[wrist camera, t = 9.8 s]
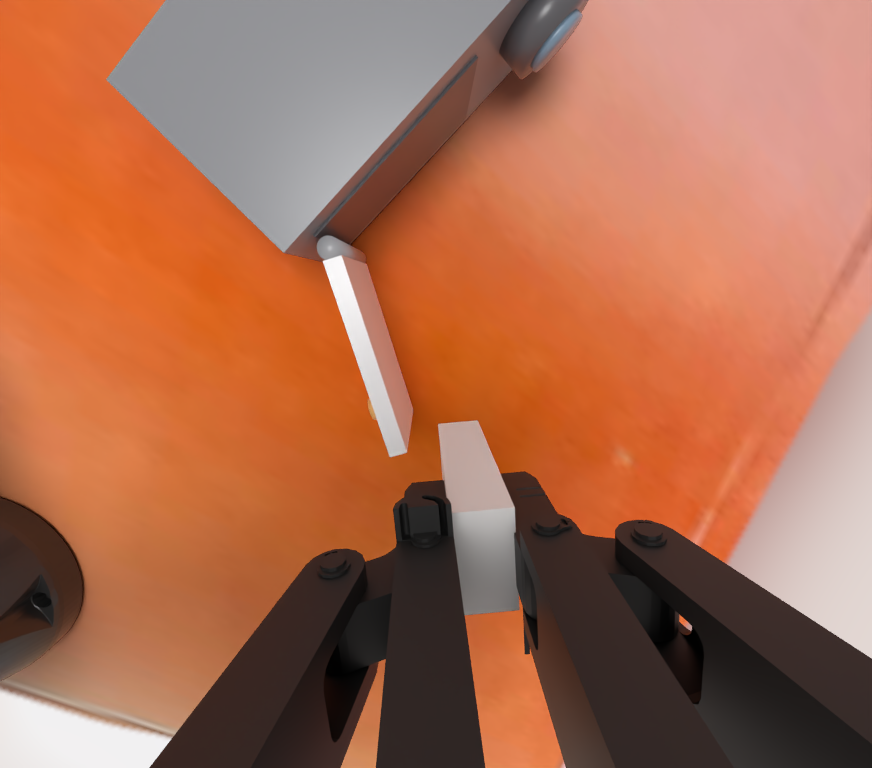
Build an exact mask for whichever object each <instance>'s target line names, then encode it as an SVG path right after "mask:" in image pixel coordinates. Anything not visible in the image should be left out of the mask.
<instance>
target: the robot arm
mask: <svg viewBox="0 0 872 768" xmlns="http://www.w3.org/2000/svg"><path fill="white" fill-rule="evenodd" d="M438 429H439V441H440V453H441V465H442V477H443V480H439V481H428V482H416V483H412V484H411V485H410V486H409V487H408V488H407V489H406V491H405V497H404V498H402V499H401V500H400V501H398V502H397V503H396V504H395V506H394V508H393V513H394V522H395V531H396V539H397V544H396V548H394V549H393V550H392V551H391V552H389V553H387V554H386V555H384V556H382V557H379V558H376V559H373V560H370V561H367V562H365V560H364V558H363V555H362V554H360V553H359V552H357V551H355V550H350V549H335V550H331V551H327V552H324V553H322V554H320V555H319V556H317V557H315V558H313V559H312V560H311V561H310V562H309V563H308V564H307V565H306V566H305V567H304V568H303V570H302V571H301V572H300V573H299V575H298V576H297V577H296V579H295V580H294V581H293V583H292V584H291V585H290V586H289V588H288V589H287V590H286V592H285V593H284V594H283V596H282V597H281V598H280V599H279V601H278V602H277V603H276V605H275V606H274V607H273V608H272V610H271V611H270V612H269V614H268V615H267V616H266V618H265V619H264V620H263V621H262V623H261V624H260V625H259V627H258V628H257V629H256V630H255V632H254V633H253V634H252V636H251V637H250V638H249V640H248V641H247V642H246V643H245V645H244V646H243V647H242V649H241V650H240V651H239V653H238V654H237V655H236V656H235V658H234V659H233V660H232V662H231V663H230V664H229V665H228V667H227V668H226V669H225V671H224V672H223V673H222V675H221V676H220V677H219V678H218V680H217V681H216V682H215V684H214V685H213V686H212V687H211V689H210V690H209V691H208V693H207V694H206V695H205V697H204V698H203V699H202V700H201V702H200V703H199V704H198V706H197V707H196V708H195V709H194V711H193V712H192V713H191V715H190V716H189V717H188V719H187V720H186V721H185V722H184V724H183V725H182V726H181V728H180V729H179V730H178V732H177V733H176V734H175V735H174V737H173V738H172V739H171V741H170V742H169V743H168V744H167V746H166V747H165V748H164V750H163V751H162V752H161V754H160V755H159V756H158V758H157V759H156V760H155V761H154V763H153V764H152V765H151V766H150V768H340V767H341V765H342V762H343V760H344V757H345V754H346V752H347V749H348V746H349V744H350V741H351V739H352V736H353V733H354V731H355V728H356V726H357V723H358V720H359V718H360V715H361V712H362V710H363V707H364V705H365V702H366V699H367V697H368V694H369V691H370V689H371V686H372V684H373V681H374V678H375V676H376V673H377V668H378V662H379V661H381V660H384V659H386V664H385V675H384V686H383V697H382V708H381V718H380V729H379V740H378V751H377V762H376V768H485V763H484V755H483V748H482V741H481V733H480V726H479V719H478V711H477V704H476V696H475V689H474V682H473V674H472V667H471V660H470V652H469V645H468V638H467V630H466V623H465V616H464V615H472V614H483V613H493V612H504V611H514V610H519V596H520V599H521V602H522V605H523V620H524V644H525V654H530V649H531V652H532V656H533V659H534V662H535V666H536V669H537V672H538V676H539V679H540V682H541V686H542V689H543V692H544V696H545V699H546V702H547V706H548V709H549V712H550V716H551V719H552V722H553V726H554V729H555V732H556V736H557V739H558V743H559V746H560V749H561V753H562V756H563V759H564V763H565V766H566V768H872V659H871V658H870V657H868V656H867V655H865V654H864V653H862V652H861V651H859V650H857V649H856V648H854V647H853V646H851V645H850V644H848V643H847V642H845V641H844V640H842V639H840V638H839V637H837V636H836V635H834V634H833V633H831V632H829V631H828V630H827V629H825V628H823V627H822V626H820V625H819V624H817V623H816V622H814V621H813V620H811V619H810V618H808V617H807V616H805V615H804V614H802V613H801V612H799V611H797V610H796V609H794V608H793V607H791V606H790V605H788V604H787V603H785V602H784V601H782V600H781V599H779V598H777V597H776V596H774V595H773V594H771V593H770V592H768V591H767V590H765V589H764V588H762V587H760V586H759V585H758V584H756V583H754V582H753V581H751V580H749V579H748V578H747V577H745V576H744V575H742V574H741V573H739V572H737V571H736V570H734V569H733V568H731V567H730V566H728V565H727V564H725V563H724V562H722V561H721V560H719V559H718V558H716V557H714V556H713V555H711V554H710V553H708V552H707V551H705V550H704V549H702V548H701V547H699V546H698V545H696V544H694V543H693V542H691V541H690V540H688V539H687V538H685V537H684V536H682V535H681V534H679V533H678V532H676V531H674V530H673V529H671V528H669V527H667V526H665V525H663V524H659V523H655V522H652V521H648V520H645V521H644V520H634V521H626V522H624V523H622V524H620V525H619V526H618V527H617V528H616V530H615V539H613V538H603V537H595V536H589V535H585V534H582V533H581V531H580V530H579V528H578V527H577V525H576V524H575V523H574V522H573V521H572V520H571V519H569V518H567V517H565V516H563V515H559V514H557V512H556V510H555V509H554V507H553V505H552V504H551V502H550V500H549V499H548V497H547V495H545V492H544V490H543V489H542V488H541V486H540V484H539V482H538V481H537V479H536V478H535V477H533V476H532V475H530V474H528V473H527V472H514V473H503V474H500V472H499V469H498V467H497V465H496V462H495V460H494V458H493V455H492V453H491V451H490V448H489V446H488V444H487V441H486V439H485V436H484V434H483V432H482V429H481V427H480V425H479V422H478V420H476V421H465V422H453V423H442V424H438ZM518 593H519V594H518ZM82 594H83V591H82V580H81V575H80V572H79V568H78V566H77V563H76V561H75V559H74V556H73V555H72V553H71V551H70V549H69V548H68V546H67V545H66V544H65V542H64V541H63V540H62V538H61V537H60V536H59V535H58V534H57V533H56V532H55V531H54V530H53V529H52V528H51V527H50V526H49V525H48V524H47V523H46V522H45V521H43V520H42V519H41V518H39V517H38V516H37V515H35V514H34V513H32V512H30V511H29V510H27V509H25V508H23V507H22V506H19V505H17V504H15V503H13V502H10V501H8V500H5V499H2V498H0V681H2V680H4V679H6V678H8V677H9V676H11V675H13V674H15V673H17V672H18V671H20V670H22V669H24V668H25V667H27V666H29V665H30V664H32V663H33V662H35V661H36V660H37V659H39V658H40V657H41V656H43V655H44V654H45V653H46V652H47V651H48V650H49V649H50V648H51V647H52V646H53V645H54V644H55V643H57V642H58V641H59V640H60V639H61V638H62V637H63V636H64V635H65V634H66V633H67V632H68V631H69V630H70V628H71V627H72V625H73V624H74V622H75V620H76V618H77V616H78V614H79V611H80V608H81V603H82ZM679 614H680V615H681V616H682V617H683V618H684V619H686V620H687V621H688V622H689V623H690V624H691V625H692V631H690V630H688V629H687V628H686V627H684V626H683V625H682V624H681V623H680V622H679Z"/></svg>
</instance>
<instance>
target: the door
mask: <svg viewBox="0 0 872 768" xmlns="http://www.w3.org/2000/svg"><path fill="white" fill-rule="evenodd" d="M317 252H318V254H319V255H320V257H321V258H323V259H325V260H324V261H323V263H324V266H325V269H326V272H327V275H328V278H329V281H330V284H331V287H332V290H333V293H334V295H335V298H336V301H337V304H338V307H339V310H340V313H341V316H342V319H343V322H344V325H345V328H346V331H347V333H348V336H349V339H350V342H351V345H352V348H353V351H354V354H355V357H356V360H357V363H358V366H359V369H360V371H361V374H362V377H363V380H364V383H365V386H366V389H367V392H368V395H369V398H370V399H368V408H369V411H370V414H371V417H372V418H373V420H376V419H377V421H378V424H379V427H380V430H381V433H382V436H383V439H384V442H385V445H386V447H387V450H388V453H389V456H390V457H393V456H397V455H400V454H404V453H407V449H408V443H409V436H410V429H411V423H412V416H413V407H412V404H411V401H410V398H409V395H408V391H407V388H406V385H405V382H404V379H403V376H402V373H401V370H400V366H399V363H398V360H397V357H396V354H395V351H394V348H393V345H392V341H391V338H390V335H389V332H388V329H387V326H386V323H385V320H384V317H383V313H382V310H381V307H380V304H379V301H378V298H377V295H376V292H375V288H374V285H373V282H372V279H371V276H370V273H369V270H368V267H367V264H365V263H366V256H365V254H364V253H363V252H362V251H360V250H358V249H356V248H355V247H353V246H351V245H349V244H347V243H345V242H343V241H341V240H339V239H337V238H335V237H333V236H329V235H327V236H323V237H322V238H320V239H319V241H318V243H317Z"/></svg>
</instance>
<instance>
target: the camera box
mask: <svg viewBox="0 0 872 768" xmlns="http://www.w3.org/2000/svg"><path fill="white" fill-rule="evenodd" d="M587 2H588V0H166V1H165V2H164V3H163V5H162V6H161V7H160V9H159V10H158V11H157V13H156V14H155V15H154V17H153V18H152V19H151V21H150V22H149V23H148V25H147V26H146V27H145V29H144V30H143V31H142V33H141V34H140V35H139V37H138V38H137V39H136V41H135V42H134V43H133V45H132V46H131V47H130V49H129V50H128V51H127V53H126V54H125V55H124V57H123V58H122V59H121V60H120V62H119V63H118V64H117V66H116V67H115V68H114V70H113V71H112V72H111V74H110V75H109V76H108V78H107V79H106V80H107V81H108V82H109V83H110V84H111V85H112V86H113V87H114V88H115V89H116V90H117V91H118V92H119V93H120V94H122V95H123V96H124V97H125V98H126V99H127V100H128V101H129V102H130V103H131V104H132V105H133V106H134V107H135V108H136V109H137V110H138V111H139V112H140V113H141V114H142V115H143V116H144V117H145V118H146V119H147V120H148V121H149V122H150V123H151V124H152V125H153V126H154V127H155V128H156V129H157V130H158V131H159V132H160V133H161V134H162V135H163V136H165V137H166V138H167V139H168V140H169V141H170V142H171V143H172V144H173V145H174V146H175V147H176V148H177V149H178V150H179V151H180V152H181V153H182V154H183V155H184V156H185V157H186V158H187V159H188V160H189V161H190V162H191V163H192V164H193V165H194V166H195V167H196V168H197V169H198V170H199V171H200V172H201V173H202V174H203V175H204V176H205V177H206V178H208V179H209V180H210V181H211V182H212V183H213V184H214V185H215V186H216V187H217V188H218V189H219V190H220V191H221V192H222V193H223V194H224V195H225V196H226V197H227V198H228V199H229V200H230V201H231V202H232V203H233V204H234V205H235V206H236V207H237V208H238V209H239V210H240V211H241V212H242V213H243V214H244V215H245V216H246V217H247V218H248V219H249V220H251V221H252V222H253V223H254V224H255V225H256V226H257V227H258V228H259V229H260V230H261V231H262V232H263V233H264V234H265V235H266V236H267V237H268V238H269V239H270V240H271V241H272V242H273V243H274V244H275V245H276V246H277V247H278V248H279V249H280V250H281V251H282V252H283V253H286V254H291V255H295V256H299V257H304V258H308V259H312V260H317V261H321V262H323V261H324V260H325V259H323V258H321V257H320V255H319V254H318V252H317V243H318V241H319V239H320V238H322V237H323V236H327V235H329V236H333V237H335V238H337V239H339V240H341V241H343V242H345V243H347V244H349V245H350V244H351V243H352V242H353V241H354V240H355V239H356V238H357V237H358V236H359V235H360V234H361V232H362V231H363V230H364V229H365V228H366V227H367V226H368V225H369V224H370V223H371V222H372V221H373V220H374V218H375V217H376V216H377V215H378V214H379V213H380V212H381V211H382V210H383V209H384V208H385V207H386V206H387V204H388V203H389V202H390V201H391V200H392V199H393V198H394V197H395V196H396V195H397V194H398V193H399V192H400V190H401V189H402V188H403V187H404V186H405V185H406V184H407V183H408V182H409V181H410V180H411V179H412V178H413V176H414V175H415V174H416V173H417V172H418V171H419V170H420V169H421V168H422V167H423V166H424V165H425V164H426V162H427V161H428V160H429V159H430V158H431V157H432V156H433V155H434V154H435V153H436V152H437V151H438V150H439V148H440V147H441V146H442V145H443V144H444V143H445V142H446V141H447V140H448V139H449V138H450V137H451V136H452V134H453V133H454V132H455V131H456V130H457V129H458V128H459V127H460V126H461V125H462V124H463V123H464V122H465V120H466V119H467V118H468V117H469V116H470V115H471V114H472V113H473V112H474V111H475V110H476V109H477V108H478V106H479V105H480V104H481V103H482V102H483V101H484V100H485V99H486V98H487V97H488V96H489V95H490V94H491V92H492V91H493V90H494V89H495V88H496V87H497V86H498V85H499V84H500V83H501V82H502V81H503V80H504V78H505V77H506V76H507V75H508V74H509V73H510V72H511V71H512V70H513V71H514V72H515V73H516V75H517V76H518V77H519V78H520V79H524V78H525V77H527V76H528V75H529V74H530V73H531V72H533V71H534V72H535V73H536V72H538V71H539V70H540V69H542V68H543V67H544V66H545V65H546V64H547V63H548V62H549V61H550V60H551V59H552V57H553V56H554V55H555V54H556V53H557V52H558V51H559V49H560V48H561V47H562V46H563V45H564V43H565V42H566V41H567V40H568V38H569V37H570V36H571V34H572V33H573V32H574V30H575V29H576V27H577V26H578V24H579V22H580V21H581V19H582V14H581V12H582V11H583V9H584V7H585V6H586V4H587Z"/></svg>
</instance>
